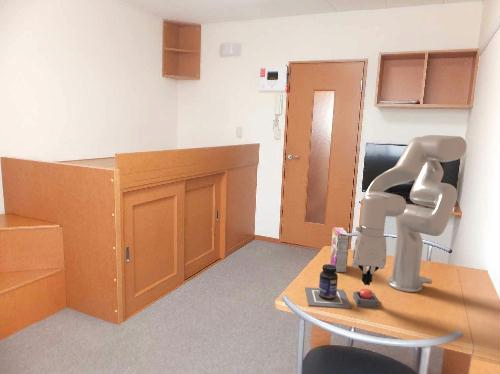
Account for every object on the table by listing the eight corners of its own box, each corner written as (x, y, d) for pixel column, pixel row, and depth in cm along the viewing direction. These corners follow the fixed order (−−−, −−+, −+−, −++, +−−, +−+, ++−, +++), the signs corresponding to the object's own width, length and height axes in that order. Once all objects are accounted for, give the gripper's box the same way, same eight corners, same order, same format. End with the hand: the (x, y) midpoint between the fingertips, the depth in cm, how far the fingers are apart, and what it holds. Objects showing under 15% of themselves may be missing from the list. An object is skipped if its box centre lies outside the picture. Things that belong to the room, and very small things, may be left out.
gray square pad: (343, 290, 140) (343, 289, 140) (350, 308, 126) (351, 307, 126) (304, 288, 140) (305, 287, 140) (308, 305, 127) (308, 304, 126)
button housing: (372, 298, 134) (373, 292, 134) (378, 307, 127) (379, 301, 127) (352, 297, 135) (353, 291, 134) (357, 306, 128) (357, 299, 127)
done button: (370, 294, 132) (370, 289, 132) (373, 299, 129) (373, 294, 128) (358, 293, 133) (359, 288, 132) (361, 299, 129) (361, 293, 128)
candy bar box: (329, 262, 168) (332, 226, 166) (340, 263, 168) (343, 227, 166) (334, 272, 157) (337, 234, 155) (346, 273, 157) (350, 234, 155)
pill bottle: (331, 302, 129) (333, 271, 127) (315, 296, 133) (317, 266, 131) (338, 296, 134) (341, 266, 132) (323, 291, 137) (325, 262, 136)
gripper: (351, 232, 123) (346, 286, 126) (398, 236, 123) (391, 290, 125) (347, 227, 131) (342, 277, 134) (391, 230, 130) (385, 281, 133)
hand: (366, 283), depth 129 cm, fingers closed
